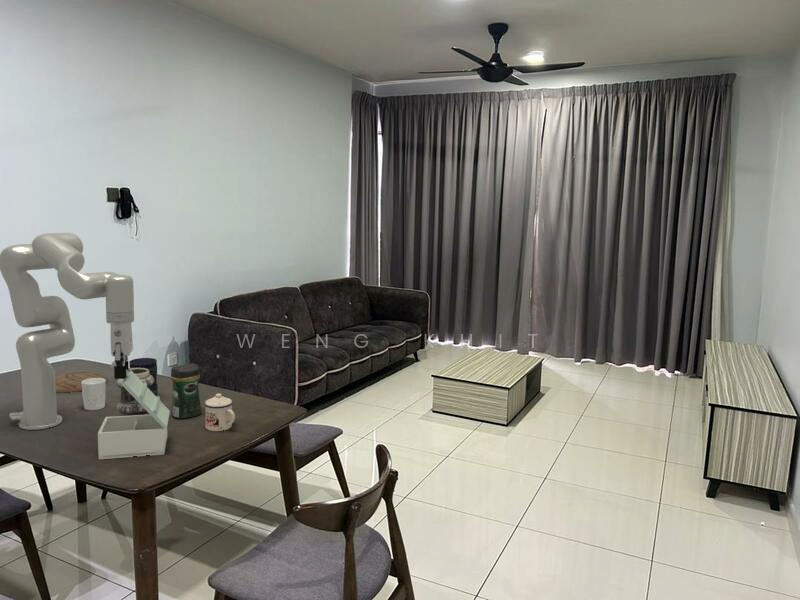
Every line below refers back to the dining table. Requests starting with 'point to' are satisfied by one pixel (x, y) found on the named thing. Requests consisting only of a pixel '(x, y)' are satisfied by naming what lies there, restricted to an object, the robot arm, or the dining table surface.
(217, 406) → the teacup with lid
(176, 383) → the coffee jar
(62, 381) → the trivet
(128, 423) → the tub
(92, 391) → the white cup
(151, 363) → the storage jar
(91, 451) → the dining table surface
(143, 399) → the lid
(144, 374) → the apothecary jar
